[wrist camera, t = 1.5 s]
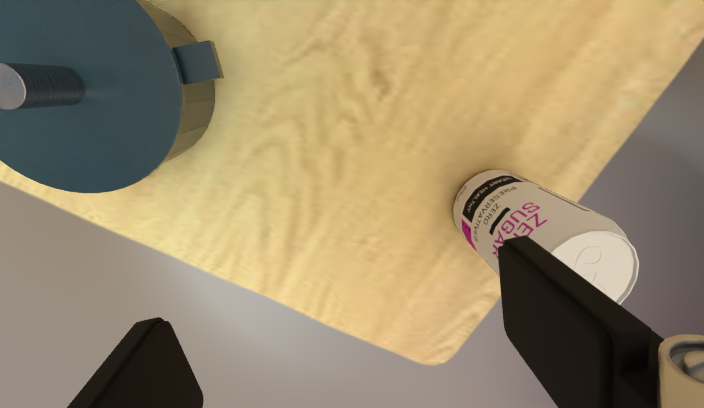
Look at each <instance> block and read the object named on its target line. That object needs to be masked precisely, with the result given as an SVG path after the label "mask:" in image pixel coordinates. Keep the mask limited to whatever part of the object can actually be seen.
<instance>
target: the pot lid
mask: <svg viewBox="0 0 704 408" xmlns="http://www.w3.org/2000/svg"><path fill="white" fill-rule="evenodd" d="M184 112H185V92H184V85H183V79H182V75H181V71H180V67H179V64H178V61H177V58H176V56H175V53H174V51H173V49H172V47H171V45H170V43H169V41H168V39H167V37H166V35H165V34H164V32H163V31H162V29H161V28H160V26H159V25H158V23H157V22H156V20H155V19H154V18H153V17H152V15H151V14H150V13H149V12H148V11H147V10H146V8H145V7H144V6H143V5H142V4H141V3H140V2H139V1H138V0H0V160H1V161H2V162H4V163H5V164H6V165H8V166H9V167H10V168H12V169H14V170H15V171H17V172H19V173H20V174H22V175H24V176H26V177H28V178H30V179H32V180H34V181H36V182H39V183H41V184H44V185H47V186H50V187H53V188H56V189H61V190H65V191H70V192H79V193H102V192H109V191H114V190H118V189H122V188H125V187H127V186H130V185H132V184H134V183H137V182H139V181H140V180H142V179H144V178H145V177H147V176H149V175H150V174H151V173H152V172H154V171H155V170H156V169H157V168H159V167H160V165H161V164H162V163H163V162H164V161H165V160H166V159H167V158H168V156H169V154H170V153H171V151H172V150H173V148H174V146H175V144H176V142H177V140H178V138H179V135H180V132H181V128H182V125H183V119H184Z"/></svg>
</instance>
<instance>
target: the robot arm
mask: <svg viewBox="0 0 704 408" xmlns="http://www.w3.org/2000/svg"><path fill="white" fill-rule="evenodd" d="M498 262H499V274H500V285H501V297H502V308H503V319H504V328H505V331H506V334H507V336H508V338H509V339H510V341H511V342H512V344H513V345H514V347H515V348H516V349H517V351H518V352H519V354H520V355H521V356H522V358H523V359H524V360H525V362H526V363H527V365H528V366H529V367H530V369H531V370H532V372H533V373H534V374H535V376H536V377H537V378H538V380H539V381H540V383H541V384H542V385H543V387H544V388H545V390H546V391H547V393H548V394H549V395H550V397H551V398H552V400H553V401H554V402H555V404H556V405H557V406H558V408H704V336H700V335H692V334H689V335H676V336H673V337H670V338H667V339H665V340H664V339H663V338H662V337H660V336H659V335H658V334H656V333H655V332H654V331H652V330H651V328H650V327H648V326H647V325H646V324H644V323H643V322H642V321H640V320H639V319H638V318H636V317H635V316H634V315H632V314H631V313H630V312H628V311H627V310H626V309H624V308H623V307H622V306H620V305H619V304H618V303H616V302H615V301H614V300H612V299H611V298H610V297H608V296H607V295H606V294H604V293H603V292H602V291H600V290H599V289H598V288H596V287H595V286H594V285H592V284H591V283H590V282H588V281H587V280H586V279H584V278H583V277H582V276H580V275H579V274H578V273H576V272H575V271H574V270H572V269H571V268H570V267H568V266H567V265H566V264H564V263H563V262H562V261H560V260H559V259H558V258H556V257H555V256H554V255H552V254H551V253H550V252H548V251H547V250H546V249H544V248H543V247H542V246H540V245H539V244H538V243H536V242H535V241H534V240H532V239H531V238H530V237H528V236H526V235H523V236H519V237H514V238H510V239H505V240H504V241H503V246H499V247H498ZM202 407H203V394H202V391H201V389H200V387H199V385H198V382H197V380H196V378H195V376H194V374H193V372H192V369H191V367H190V365H189V363H188V361H187V358H186V356H185V354H184V352H183V350H182V347H181V345H180V343H179V341H178V339H177V337H176V335H175V332H174V330H173V328H172V326H171V324H170V323H169V322H168V321H164V320H163V319H162V318H159V317H158V318H153V319H149V320H144V321H140V322H137V323H136V324H134V325H133V327H132V328H131V329H130V330H129V332H128V333H127V334H126V335H125V337H124V338H123V339H122V340H121V341H120V343H119V344H118V345H117V346H116V348H115V349H114V350H113V351H112V353H111V354H110V355H109V356H108V358H107V359H106V360H105V361H104V362H103V364H102V365H101V366H100V367H99V369H98V370H97V371H96V372H95V374H94V375H93V376H92V377H91V379H90V380H89V381H88V382H87V384H86V385H85V386H84V387H83V389H82V390H81V391H80V392H79V393H78V395H77V396H76V397H75V398H74V400H73V401H72V402H71V403H70V405H69V406H68V407H67V408H202Z"/></svg>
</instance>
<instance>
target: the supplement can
mask: <svg viewBox="0 0 704 408" xmlns="http://www.w3.org/2000/svg"><path fill="white" fill-rule="evenodd" d="M453 214H454V222H455V224H456V226H457V228H458V230H459V232H460V233H461V234H462V235H463V237H464V238H465V239H466V240H467V241H468V242H469V243H470V244H471V246H472V247H473V248H474V249H475V250H476V251H477V252H478V253H479V254H480V256H481V257H482V258H483V259H484V260H485V261H486V262H487V263H488V265H489V266H490V267H491V268H492V269H493V270H494V271H495V272H496V274H497V275H498V276H499V277H500V274H499V262H498V247H499V246H503V241H504V240H505V239H510V238H514V237H519V236H523V235H526V236H528V237H530V238H531V239H532V240H534V241H535V242H536V243H538V244H539V245H540V246H542V247H543V248H544V249H546V250H547V251H548V252H550V253H551V254H552V255H554V256H555V257H556V258H558V259H559V260H560V261H562V262H563V263H564V264H566V265H567V266H568V267H570V268H571V269H572V270H574V271H575V272H576V273H578V274H579V275H580V276H582V277H583V278H584V279H586V280H587V281H588V282H590V283H591V284H592V285H594V286H595V287H596V288H598V289H599V290H600V291H602V292H603V293H604V294H606V295H607V296H608V297H610V298H611V299H612V300H614V301H615V302H616V303H618V304H619V305H620V304H621V303H622V302H623V300H624V299H625V298H626V297H627V296H628V295H629V294H630V292H631V290H632V288H633V286H634V284H635V282H636V280H637V275H638V267H639V261H638V258H637V254H636V251H635V248H634V247H633V246H632V245H631V244H630V243H629V241H628V239H627V237H626V235H625V233H624V232H623V231H622V230H621V229H620V227H619V226H617V224H616V223H615V222H614V221H613V220H611V219H609V218H607V217H605V216H602V215H600V214H598V213H596V212H594V211H592V210H590V209H588V208H586V207H583V206H581V205H579V204H577V203H575V202H573V201H571V200H569V199H567V198H565V197H563V196H561V195H559V194H556V193H554V192H552V191H550V190H548V189H546V188H544V187H542V186H540V185H538V184H536V183H533V182H531V181H529V180H527V179H525V178H523V177H521V176H519V175H517V174H514V173H512V172H509V171H507V170H489V171H486V172H483V173H480V174H477V175H476V176H474V177H473V178H472V179H470V180H469V181H468V182H466V183H465V185H464V186H463V187H462V189H461V190H460V192H459V193H458V194H457V197H456V200H455V203H454V207H453Z"/></svg>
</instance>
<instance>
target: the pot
mask: <svg viewBox="0 0 704 408" xmlns="http://www.w3.org/2000/svg"><path fill="white" fill-rule="evenodd" d="M138 1H139V2H140V3H141V4H142V5H143V6H144V7H145V8H146V10H147V11H148V12H149V13H150V14H151V15H152V17H153V18H154V19H155V20H156V22H157V23H158V25H159V26H160V28H161V29H162V31H163V32H164V34H165V35H166V37H167V39H168V41H169V43H170V45H171V47H172V49H173V51H174V53H175V56H176V58H177V61H178V64H179V67H180V71H181V75H182V79H183V85H184V92H185V112H184V119H183V125H182V128H181V132H180V135H179V138H178V140H177V142H176V144H175V146H174V148H173V150H172V151H171V153H170V154H169V156H168V158H167V159H166V160H165V161H164V162H166V161H168V160H170V159H172V158H174V157H176V156H178V155H179V154H181V153H182V152H184V151H186V150H187V149H189V148H190V147H192V146H193V145H195V143H196V142H197V141H198V140H199V139H200V138H201V136H202V135H203V133H204V132H205V130H206V129H207V127H208V125H209V123H210V120H211V117H212V114H213V110H214V103H215V87H214V80H215V79H220V78H224V76H223V72H222V69H221V65H220V62H219V58H218V55H217V51H216V48H215V44H214V42H212V41H204V42H199V43H198V42H197V41H196V39H195V38H194V37H193V36H192V34H191V33H190V32H189V31H188V30H187V29H186V28H185V27H184V26H183V25H182V24H181V23H180V22H178V21H177V19H175V18H174V17H172V16H171V15H169V14H167V13H166V12H164V11H162V10H161V9H159V8H157V7H155V6H153V5H152V4H150V3H148V2H146V1H144V0H138ZM164 162H163V163H164Z"/></svg>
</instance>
